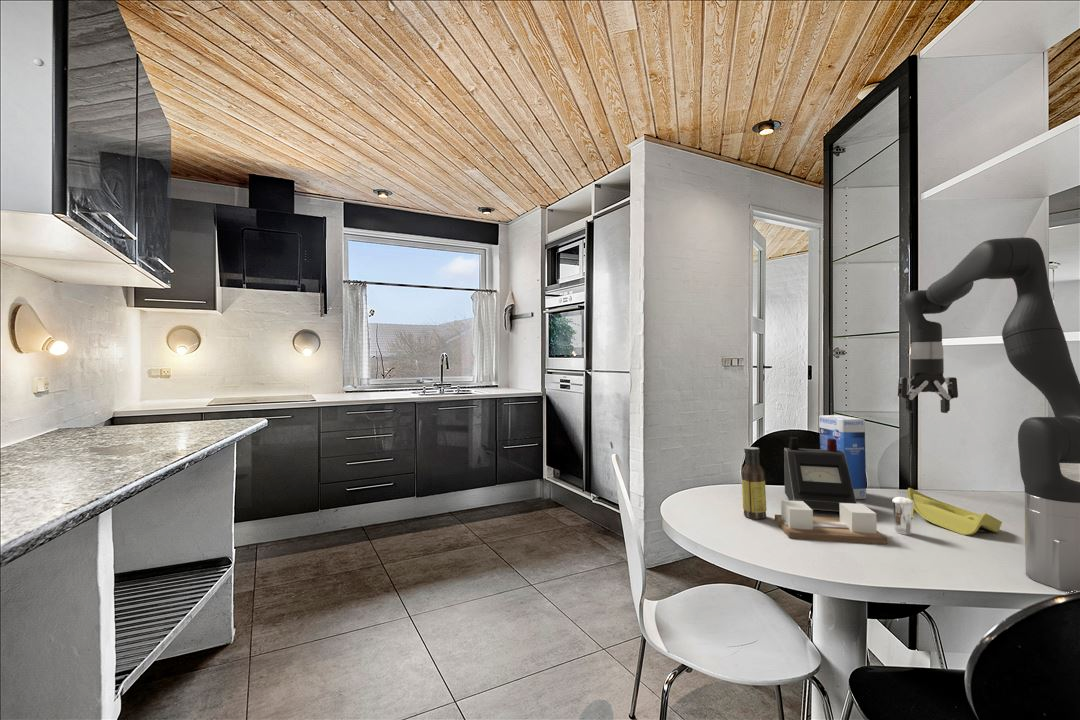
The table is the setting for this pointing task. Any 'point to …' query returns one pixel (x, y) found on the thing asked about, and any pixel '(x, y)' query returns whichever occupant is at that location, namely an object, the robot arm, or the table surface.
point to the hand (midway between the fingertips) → (927, 412)
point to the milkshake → (903, 514)
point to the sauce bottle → (753, 485)
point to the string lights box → (847, 446)
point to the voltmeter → (817, 476)
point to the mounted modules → (850, 515)
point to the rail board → (830, 531)
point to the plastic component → (952, 515)
